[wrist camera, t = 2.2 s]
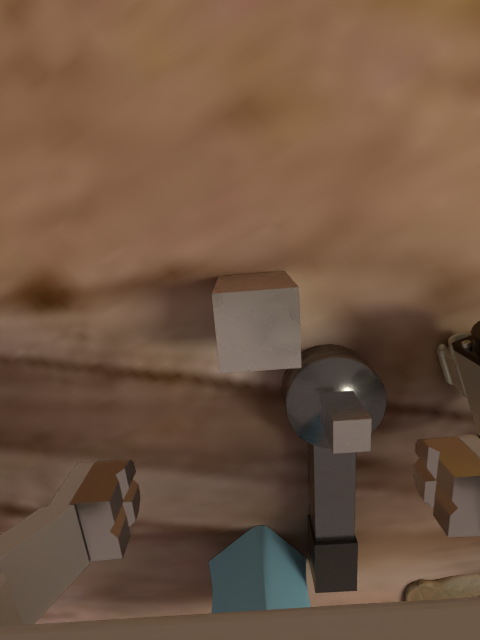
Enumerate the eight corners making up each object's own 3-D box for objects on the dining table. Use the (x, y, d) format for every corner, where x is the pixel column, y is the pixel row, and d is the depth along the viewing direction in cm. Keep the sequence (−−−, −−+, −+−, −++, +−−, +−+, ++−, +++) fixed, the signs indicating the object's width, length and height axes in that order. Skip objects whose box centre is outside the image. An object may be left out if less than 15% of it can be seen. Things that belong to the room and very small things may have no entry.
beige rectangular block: (284, 270, 28) (298, 287, 21) (287, 333, 29) (301, 367, 22) (218, 275, 28) (211, 293, 21) (224, 337, 29) (219, 373, 22)
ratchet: (371, 341, 29) (414, 379, 22) (365, 556, 36) (395, 639, 29) (279, 347, 30) (292, 388, 22) (290, 560, 36) (302, 644, 29)
